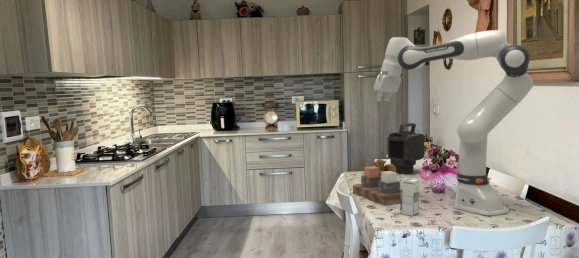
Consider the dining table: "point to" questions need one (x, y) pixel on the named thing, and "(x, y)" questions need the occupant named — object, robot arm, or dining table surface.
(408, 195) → the syrup box
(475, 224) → the dining table surface
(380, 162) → the stuffed squirrel
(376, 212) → the dining table surface
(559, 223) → the dining table surface
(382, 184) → the button board
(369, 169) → the reddish orange cube
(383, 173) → the white cube
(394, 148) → the black device with handle
